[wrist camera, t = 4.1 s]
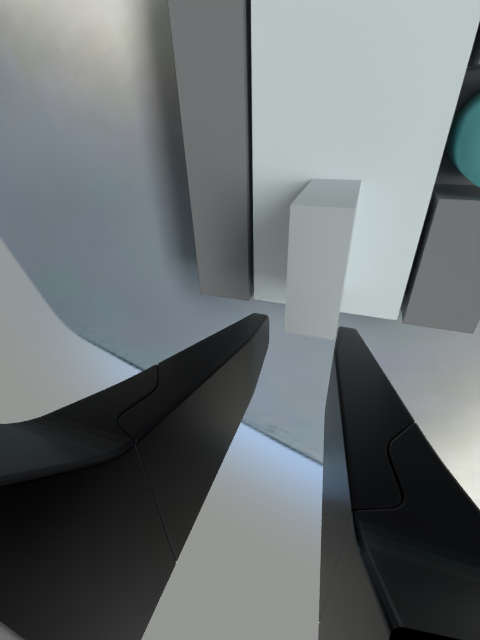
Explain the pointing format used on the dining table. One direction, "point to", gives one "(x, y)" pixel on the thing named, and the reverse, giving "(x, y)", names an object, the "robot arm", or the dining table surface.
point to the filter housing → (237, 173)
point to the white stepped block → (348, 147)
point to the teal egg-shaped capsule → (466, 140)
